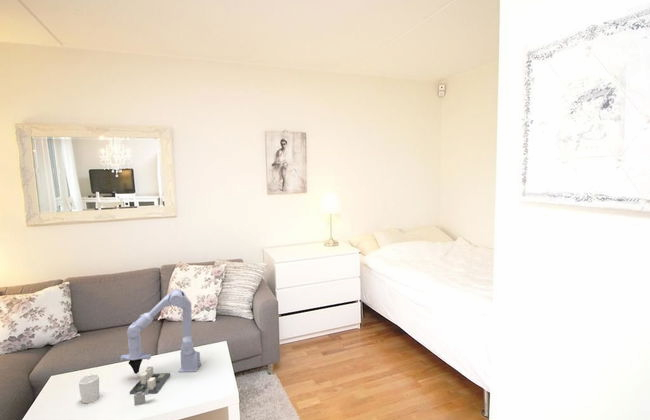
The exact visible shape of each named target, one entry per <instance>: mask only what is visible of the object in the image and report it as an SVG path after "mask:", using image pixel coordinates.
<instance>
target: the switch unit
mask: <svg viewBox="0 0 650 420" xmlns="http://www.w3.org/2000/svg"><path fill="white" fill-rule="evenodd" d="M153 377H155V380H156V386H155V388H154V389H153V390H149V391H148V394H147V395H149V394H150V395H151V394H158V392H159V391H161V389H162V387H164V385H165V383H166V382H167V380H168V379H169V378H170V377H171V373H170V372H163V373H159V372H158V373H154V375H153V376H152V377H151V378H153ZM149 379H150V378H149ZM147 386H148V384H147V383H146V384H141V379H139V380H138V382H137V383H136V384H135V385H134V386H133V387H132V389H130V391H129V395H135V394H136V393H137V392H141V391H142V393H145V391H146V388H147Z"/></svg>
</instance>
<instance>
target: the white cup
mask: <svg viewBox="0 0 650 420" xmlns="http://www.w3.org/2000/svg"><path fill="white" fill-rule="evenodd" d="M78 388H79V393H80V399H81V402H82V403H83V404H89V403H90V404H91V403H93V402H95V401H96V400H97V399H99V397H100V375H99V374H96V373H93V374H89V375H86V376H84V377H82V378H80V379H79V380H78Z"/></svg>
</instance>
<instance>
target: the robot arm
mask: <svg viewBox="0 0 650 420" xmlns="http://www.w3.org/2000/svg"><path fill="white" fill-rule="evenodd" d="M172 306H174V307H179V308H180V309H181V310H182V340H181V342H180V346H181V348H180V368H179V369H178V373H184V372H186V373H187V372H196V371H197V370H198V369H199V368H200V366H201V365H202V364H201V353H200V352H199V351H198V350H197V351H196V350H195V348H194V340H193V337H192V302H191V300H190V299H189V298H188V296H187V295H186V294H185V292H184V291H183V290H181V289H179V288H176V289H175V288H174V289H173V290H171V292H169V293H167V294H166V295H165V296H164V297H163V298H161V300H160V301H159V302H158V303H157V304H156V305H155V306H154V307H153V308H152V309H151V310H150V311H148V312H144V313H143V314H140V315H139V317H138V319H136V321H133V322H132V323H131V324H130V325H129V326H128V328H127V331H126V336H127V342H128V343H127V344H128V345H127V346H128V353H127V354H122V355H121V356H120V361H125V360H126V361H128V365H129V366H130V367H131V368H132V371H133V374H137V375H138V373H139V372H140V368H141V364H142V362H143V360H146V361H147V360H150V359H151V358H152V355H151V353H144V352H143V350H142V337H141V331H143V330H144V329H145V328H146V327H148V326H149V325H150V324H151V323H152V322H153V321H154V317H155V316H156V315H157V314H159V313H160V312H161V311H162V310H164V309H165V307H166V308H167V307H172Z"/></svg>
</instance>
